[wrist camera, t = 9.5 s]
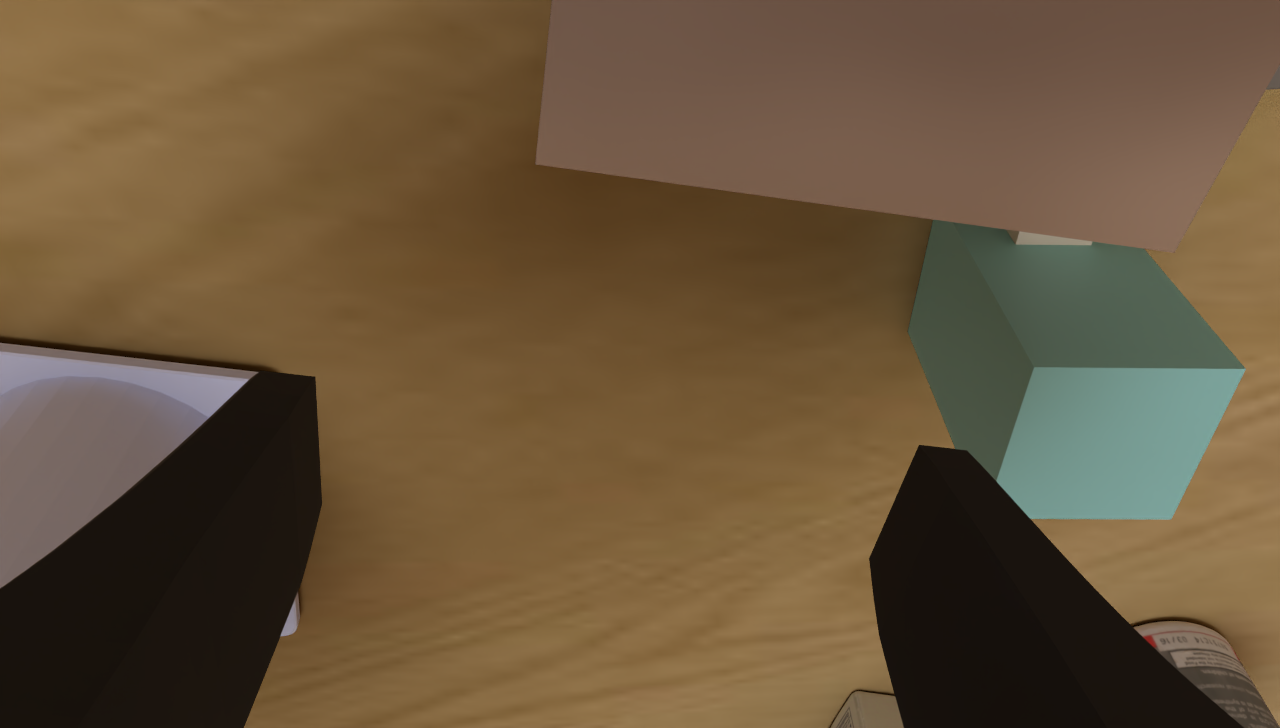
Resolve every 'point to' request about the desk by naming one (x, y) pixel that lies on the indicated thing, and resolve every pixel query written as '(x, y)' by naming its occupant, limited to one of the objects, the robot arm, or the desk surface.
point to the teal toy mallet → (1069, 370)
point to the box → (869, 712)
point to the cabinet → (918, 104)
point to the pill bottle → (1210, 669)
